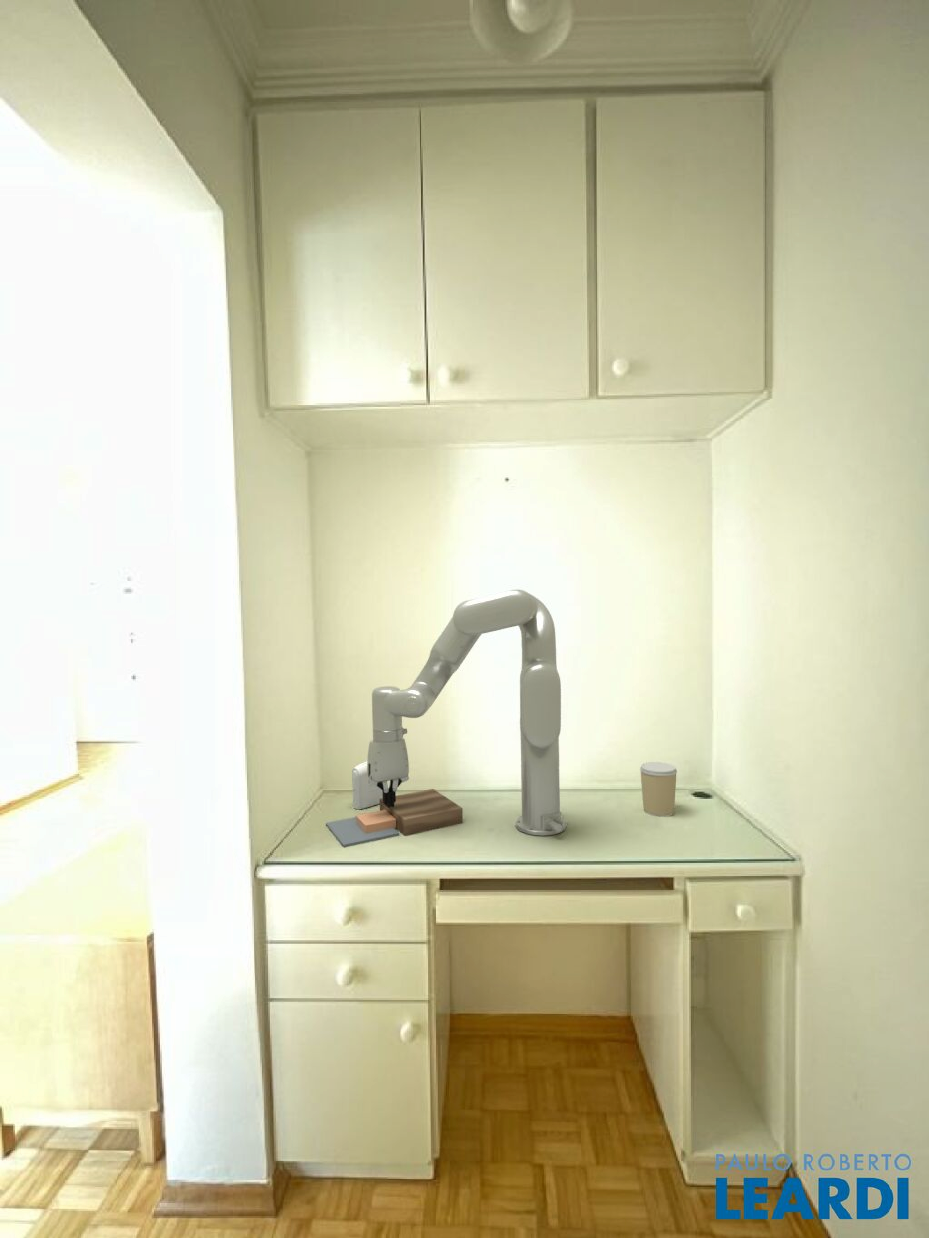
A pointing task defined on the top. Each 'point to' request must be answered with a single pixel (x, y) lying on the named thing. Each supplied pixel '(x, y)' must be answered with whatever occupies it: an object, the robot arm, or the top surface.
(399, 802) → the deck
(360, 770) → the photo printer
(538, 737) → the robot arm
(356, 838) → the mat
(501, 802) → the top surface
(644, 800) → the coffee cup
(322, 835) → the top surface
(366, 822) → the tile
